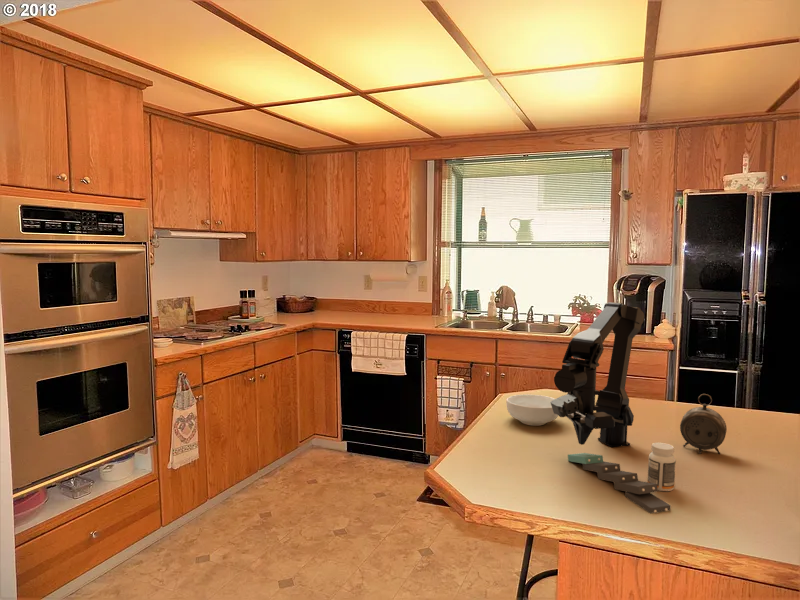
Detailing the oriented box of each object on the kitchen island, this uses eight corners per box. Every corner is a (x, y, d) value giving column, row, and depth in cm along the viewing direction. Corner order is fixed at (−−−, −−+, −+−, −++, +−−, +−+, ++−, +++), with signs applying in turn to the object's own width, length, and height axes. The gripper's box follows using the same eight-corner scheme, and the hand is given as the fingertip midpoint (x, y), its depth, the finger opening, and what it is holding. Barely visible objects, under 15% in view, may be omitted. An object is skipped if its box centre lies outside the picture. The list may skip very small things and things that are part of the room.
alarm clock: (725, 453, 151) (729, 394, 149) (723, 459, 147) (727, 399, 145) (680, 444, 157) (683, 388, 156) (677, 450, 153) (681, 392, 151)
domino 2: (599, 460, 141) (620, 463, 133) (600, 467, 141) (621, 470, 133) (582, 462, 140) (602, 466, 132) (582, 469, 139) (603, 473, 132)
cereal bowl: (566, 419, 179) (567, 398, 179) (551, 434, 165) (551, 411, 165) (516, 411, 188) (517, 390, 188) (497, 424, 174) (498, 402, 174)
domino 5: (644, 489, 125) (671, 505, 117) (643, 496, 125) (671, 513, 118) (625, 491, 124) (651, 508, 116) (625, 498, 124) (651, 516, 116)
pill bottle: (672, 483, 131) (674, 443, 130) (675, 493, 126) (678, 451, 125) (646, 480, 133) (648, 440, 132) (648, 490, 128) (650, 448, 127)
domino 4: (631, 479, 130) (657, 484, 122) (632, 486, 129) (658, 491, 122) (613, 481, 128) (639, 486, 120) (614, 489, 128) (640, 494, 120)
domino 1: (584, 452, 146) (603, 455, 138) (585, 459, 146) (604, 462, 138) (567, 454, 145) (585, 457, 137) (568, 461, 145) (586, 464, 137)
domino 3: (614, 469, 135) (638, 473, 128) (615, 476, 135) (639, 480, 127) (597, 471, 134) (619, 475, 126) (598, 478, 134) (620, 483, 126)
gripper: (537, 378, 150) (535, 435, 151) (577, 397, 132) (574, 460, 133) (573, 376, 153) (571, 431, 154) (617, 394, 135) (614, 456, 136)
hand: (581, 444), depth 144 cm, fingers closed
